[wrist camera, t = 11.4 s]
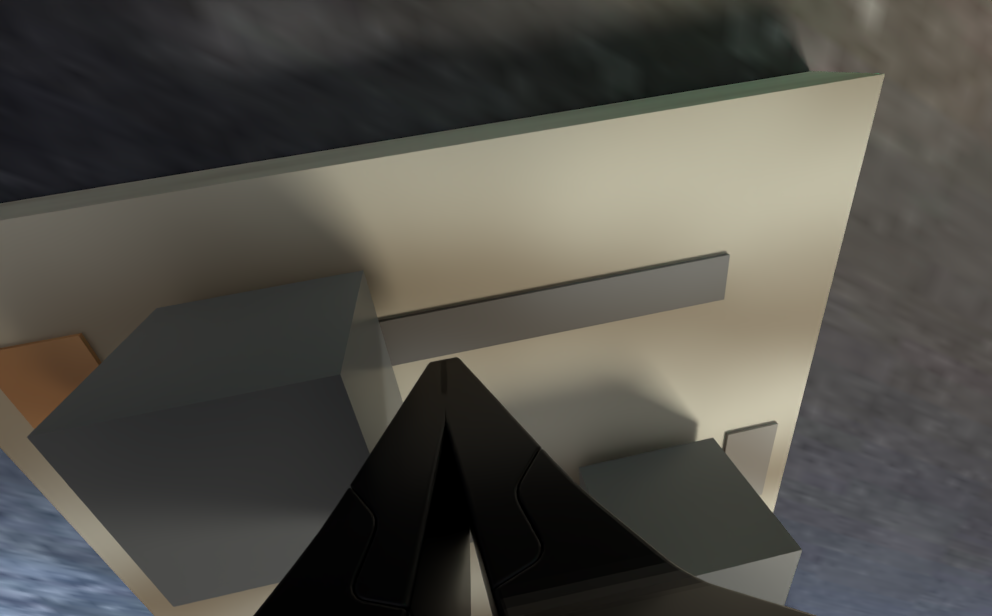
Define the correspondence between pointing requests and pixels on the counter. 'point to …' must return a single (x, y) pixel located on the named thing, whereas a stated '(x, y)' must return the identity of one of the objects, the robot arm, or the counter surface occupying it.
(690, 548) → the tab middle
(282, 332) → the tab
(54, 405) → the switch panel
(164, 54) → the counter surface
